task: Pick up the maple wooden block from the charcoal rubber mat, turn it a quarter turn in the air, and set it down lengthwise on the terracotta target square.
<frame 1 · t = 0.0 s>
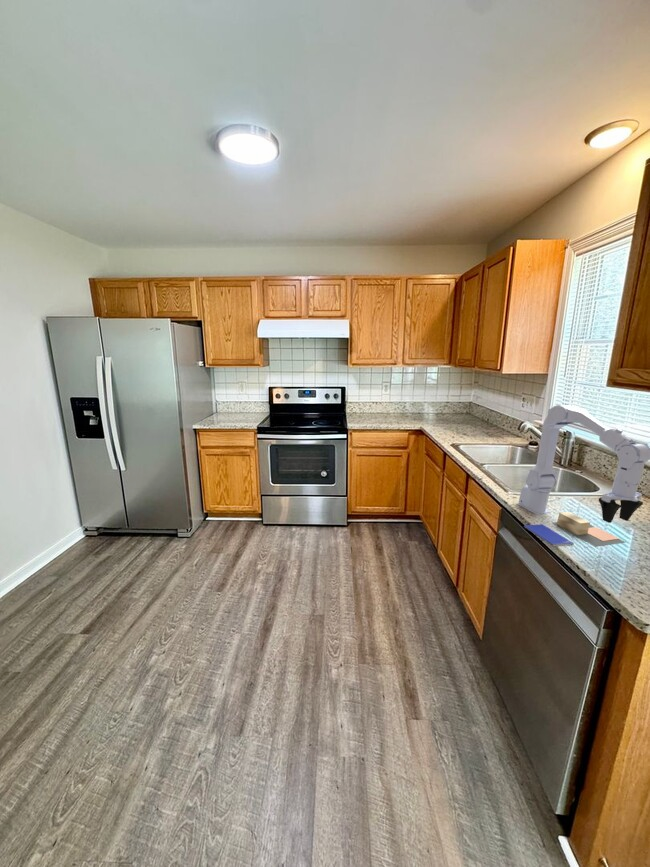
hand: (615, 520, 107), 10 cm above the counter, tool pointing down, fingers open, 7 cm apart
rubber mat: (586, 533, 118), on the counter
maple block: (571, 528, 120), resting on rubber mat
target square: (599, 534, 117), resting on rubber mat
hard drive: (546, 538, 115), on the counter
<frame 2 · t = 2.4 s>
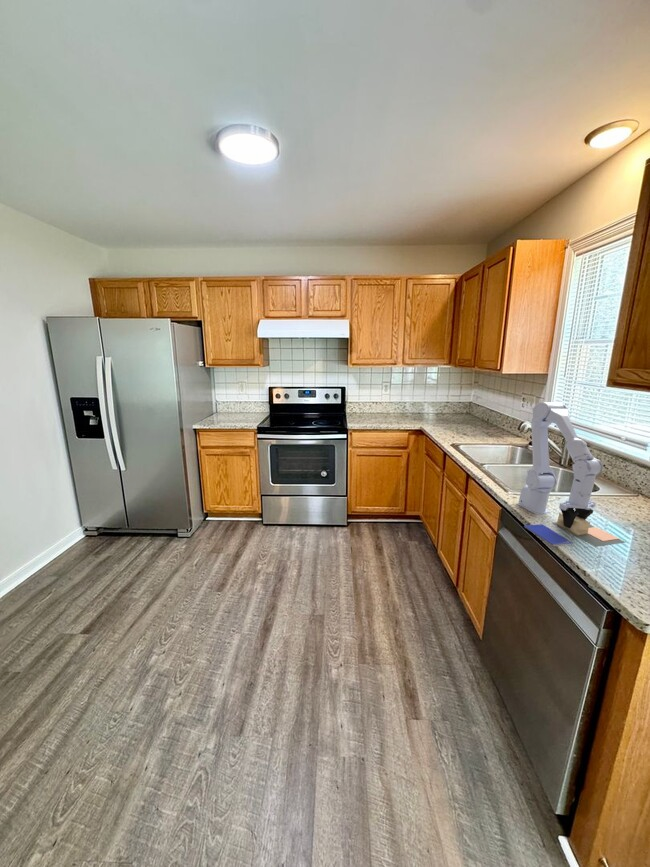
hand: (572, 526, 120), 1 cm above the counter, tool pointing down, fingers closed on maple block, 4 cm apart
maple block: (571, 528, 120), resting on rubber mat, touching gripper
everything else where it was.
when the fingers open (3 cm above the counter, at t = 7.0 s): maple block drops 1 cm, resting on target square.
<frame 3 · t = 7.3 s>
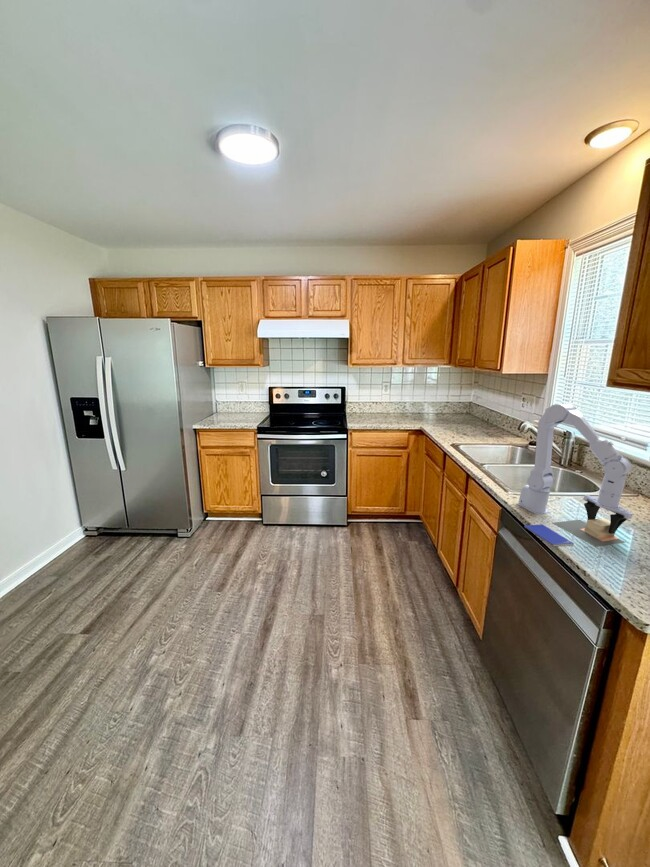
hand: (600, 527, 117), 3 cm above the counter, tool pointing down, fingers open, 6 cm apart
maple block: (599, 533, 117), point 1 cm above the counter, touching target square
everything else where it was.
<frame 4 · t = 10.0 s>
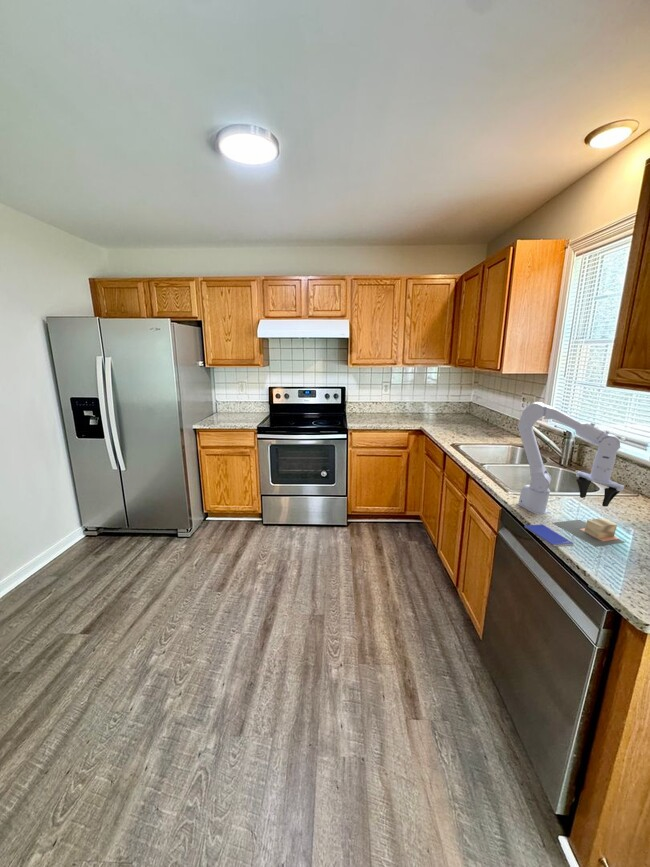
hand: (593, 501, 123), 9 cm above the counter, tool pointing down, fingers open, 7 cm apart
nothing on the counter moved.
at the end: maple block 0.1 cm from the target spot, point 0.6 cm above the counter; maple block tilted 0°; the gripper is holding nothing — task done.
